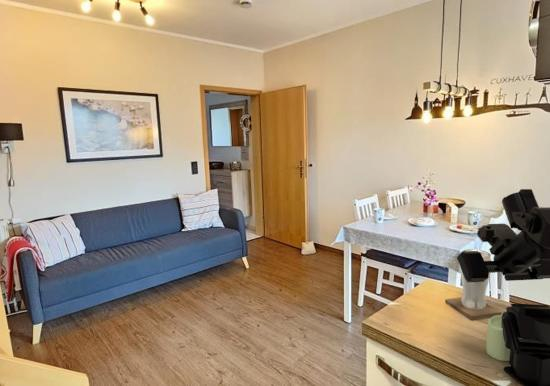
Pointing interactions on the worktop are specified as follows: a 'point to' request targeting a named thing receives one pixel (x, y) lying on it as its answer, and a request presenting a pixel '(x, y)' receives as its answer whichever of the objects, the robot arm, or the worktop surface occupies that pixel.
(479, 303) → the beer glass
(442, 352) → the worktop surface
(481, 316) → the walnut board
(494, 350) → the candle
